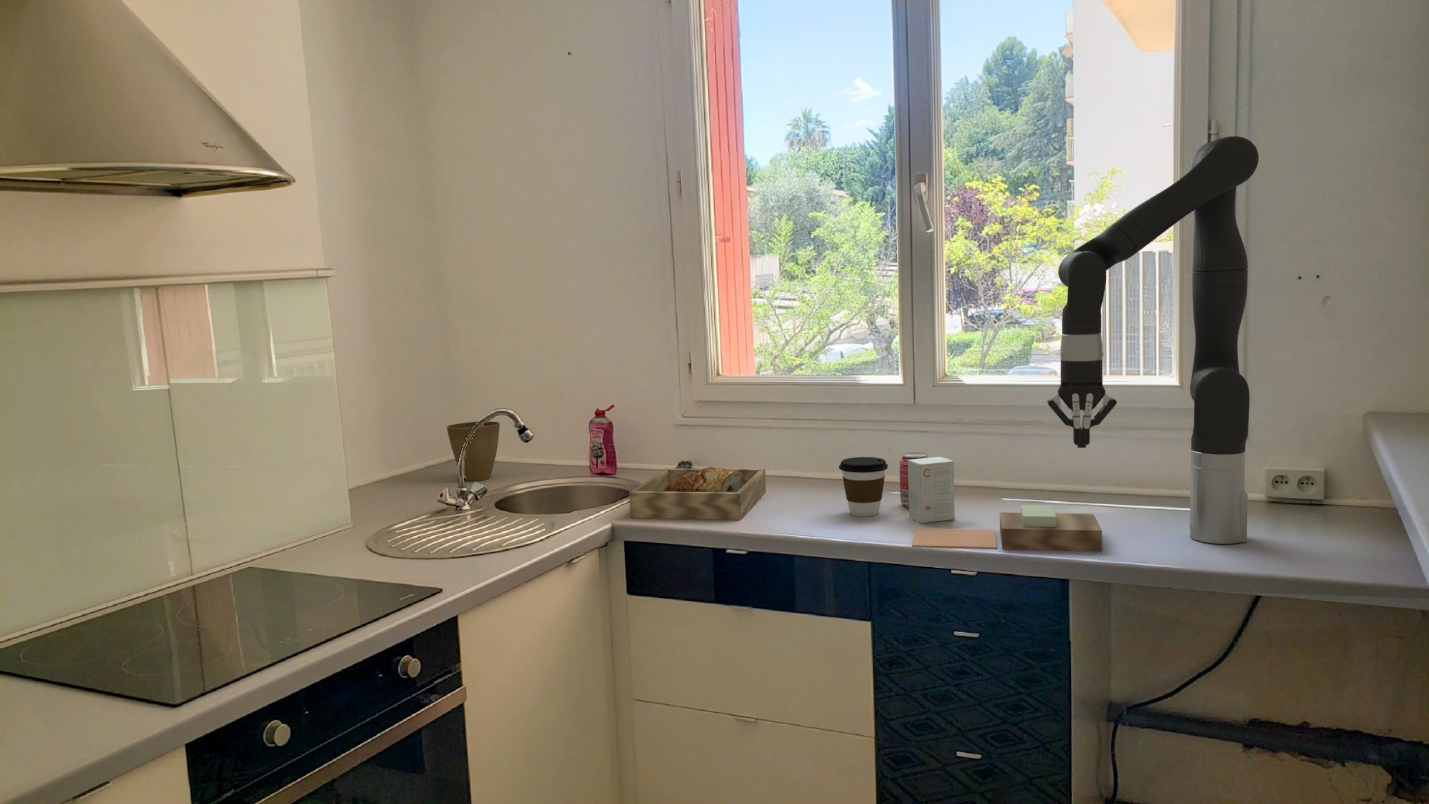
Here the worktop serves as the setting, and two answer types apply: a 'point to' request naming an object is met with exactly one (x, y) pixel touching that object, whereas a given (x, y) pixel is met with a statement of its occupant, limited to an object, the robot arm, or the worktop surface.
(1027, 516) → the pale green foam block
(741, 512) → the bread crate
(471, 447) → the plant pot
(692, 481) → the bread
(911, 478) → the small box
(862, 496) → the coffee cup
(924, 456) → the soda can
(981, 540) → the mat
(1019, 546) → the board
